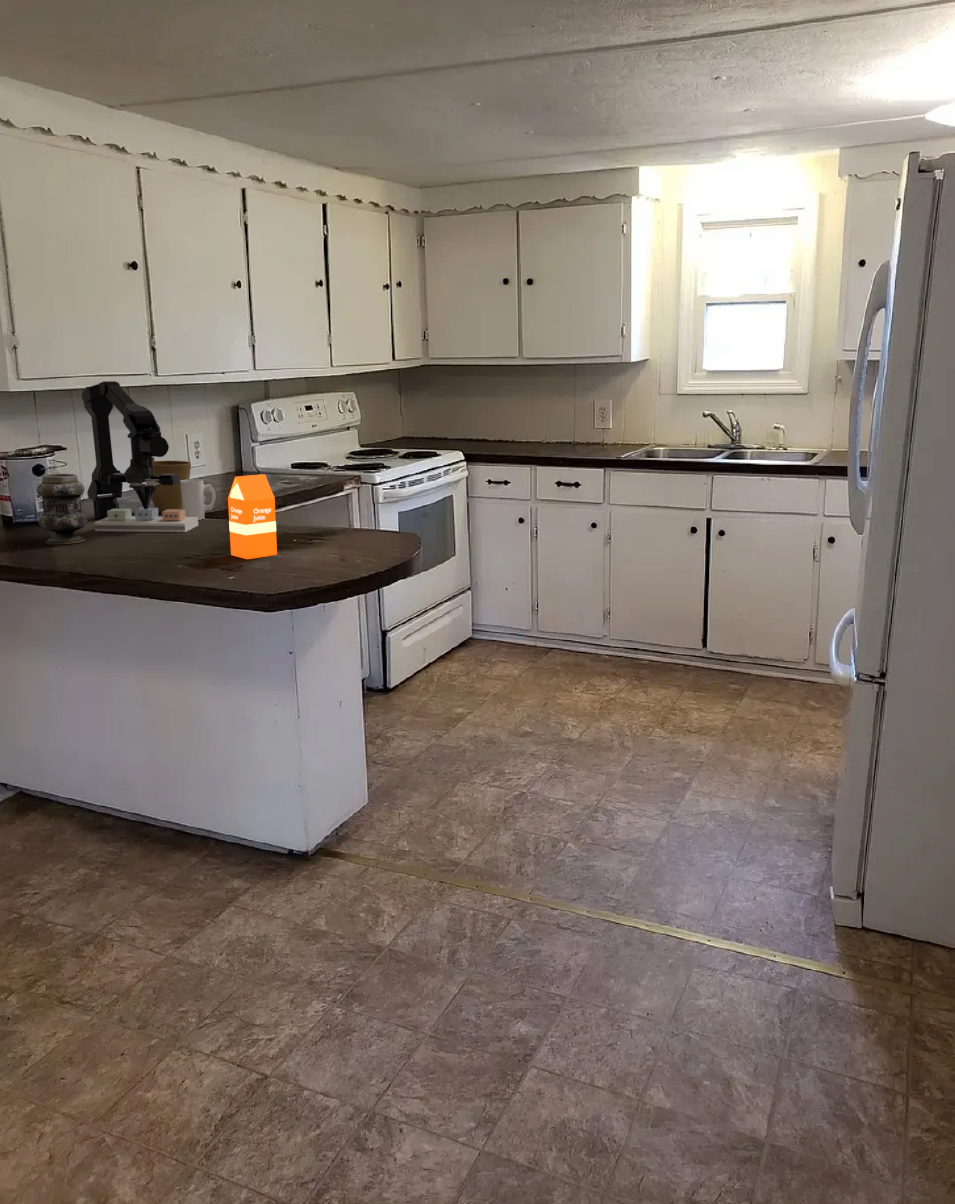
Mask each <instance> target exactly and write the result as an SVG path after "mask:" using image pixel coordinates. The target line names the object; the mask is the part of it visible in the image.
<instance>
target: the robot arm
mask: <svg viewBox="0 0 955 1204" xmlns="http://www.w3.org/2000/svg"><path fill="white" fill-rule="evenodd" d="M81 399H82V401H83V406H84V409H85V410H86V412H87V413H88V415H89V416H90V417H91V425H92V426H91V427H92V428H91V429H92V435H93V445H94V454H95V455H94V457H95V464H96V465H95V467H94V469H93V471H92V473H91V482H90V483H89V487H88V489H87V491H86V494H87V498H88V499H89V500H92V502H93V504H92V505H93V512H94V513H93V514H94V516H93V517H92V520H102V519H105V518H107V517H108V515H107V511H109V510H112V509H120V502H118V499H122V495H123V485H124V484H123V483H126V484H129V485H128V488H129V489H132V490H133V491H135V492H136V496H138V498H139V500H140V503H141V505H142V508H144V509H148V508H150V504H151V501H152V499H151V498H152V496H153V493H154V491H155V489H156V487H158V486H160V484H161V485H175V484H178V483H179V477H178V475H177V474H167V473H165V474H162V475H160V476H154V475H155V472H154V467H153V461H155V457H156V458H162V457H165V456H166V455H167V454H168V452H169V448H170V447H169V443H168V441H167V440H166V438H164V437H163V436H162V431H161V427H160V425H159V423H158V422H157V420H156V418H155V415H154V414H153V412H152V411H151V410H149V408H147V407H145V406H143V405H139V404H137V403H136V402H135V401H134V400H133V399H132V398H131V396H129V395H128V394H127V392H126V391H125V390H124V389H123V388H122V387H121V385H120V382H118V381H116V380H113V381H112V380H110V381H108V380H105V381H101V382H99V383H97V384H94V385H91V386H85V388H84V389H83V390H82V392H81ZM114 407H115V408H116V409H117V410H118V411H119V412H120V414H121V415H122V417H123V418H122V423H123V424H124V426H125V427H126V429H127V430H128V431H129V433H128V434H127V436H126V437H127V438H128V439H130V451H131V452H130V453H131V458H130V462H129V466H128V467H127V468H126V470H125V471H124V472H121V470H118V469H117V468H116V466H115V465H114V460H113V459H114V458H113V449H112V448H113V447H112V438H111V428H110V418H109V417H110V414H111V413H112V411H113V409H114ZM159 483H160V484H159Z"/></svg>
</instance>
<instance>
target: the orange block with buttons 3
mask: <svg viewBox="0 0 955 1204" xmlns="http://www.w3.org/2000/svg"><path fill="white" fill-rule="evenodd" d="M161 514H162V516H161V517H163V520H179V521H180V520H182V519H184V518H186V516H185V509H183V508H182V509H167V510H165V511H163V512H162V513H161Z"/></svg>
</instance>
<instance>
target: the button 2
mask: <svg viewBox="0 0 955 1204" xmlns="http://www.w3.org/2000/svg"><path fill="white" fill-rule="evenodd" d="M134 516H135V519H153V518H156V517H159V513H158V508H155V507H148V509H144V507H139V508H137V509H134Z"/></svg>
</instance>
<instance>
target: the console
mask: <svg viewBox="0 0 955 1204" xmlns="http://www.w3.org/2000/svg"><path fill="white" fill-rule="evenodd" d="M131 516H132V517H131V518H129V519H126V520H108V517H107V518H105V519H98V520H97V521H94V525H93V527H94V531H95V532H131V533H132V532H138V533H140V532H143V533H144V532H145V533H146V532H147V533H151V532H152V533H186V532H188V531H190V530H192V529H194V528H196V527H198V526H199V521H198V517H186V518H184V519H182V520H180V521H179V520H163V516H158V517H156V518H153V519H135V515H134V516H133V515H131Z"/></svg>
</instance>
